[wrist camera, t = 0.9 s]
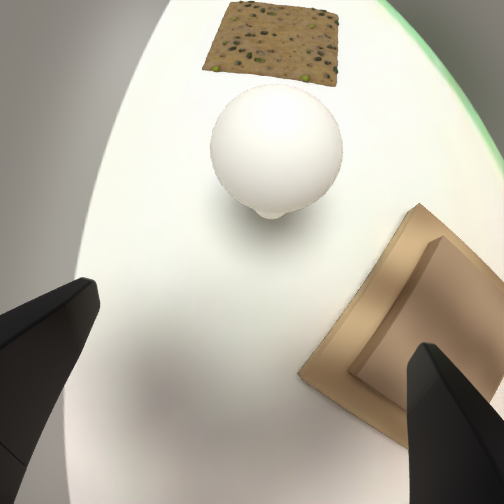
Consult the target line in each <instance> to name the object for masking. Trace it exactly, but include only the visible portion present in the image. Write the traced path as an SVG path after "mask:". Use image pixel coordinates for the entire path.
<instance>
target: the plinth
mask: <svg viewBox="0 0 504 504" xmlns="http://www.w3.org/2000/svg"><path fill="white" fill-rule="evenodd" d="M422 342H429V343H434V344H436V345H437V346H438V347H439V348H440V349H441V351H442V352H443V353H444V354H445V355H446V356H447V357H448V358H449V359H450V360H451V361H452V362H453V363H454V364H455V366H456V367H457V368H458V369H459V370H460V371H461V372H462V373H463V374H464V375H465V377H466V378H467V379H468V380H469V381H470V382H471V383H472V384H473V385H474V387H475V388H476V389H477V390H478V391H479V392H480V393H481V395H482V396H483V397H484V398H485V399H486V400H487V401H488V403H490V401H491V399H492V398H493V396H494V394H495V392H496V390H497V389H498V387H499V385H500V383H501V381H502V379H503V377H504V282H503V281H502V280H501V279H500V278H499V277H498V276H497V275H496V274H495V273H494V272H493V271H492V270H491V269H490V268H489V267H488V266H487V265H486V264H485V263H484V261H483V260H482V259H481V258H479V257H478V256H477V255H476V254H475V253H474V252H473V251H472V250H471V249H470V248H469V247H468V246H467V245H466V244H465V243H464V242H463V241H462V240H461V239H460V238H459V237H458V236H457V235H455V234H454V233H453V232H452V231H451V230H450V229H449V228H448V227H447V226H446V225H444V224H443V223H442V222H441V221H440V220H439V219H438V218H437V217H435V216H434V215H433V214H432V213H431V212H430V211H428V210H427V209H426V208H425V207H424V206H423V205H421V204H420V203H419V204H417V205H416V206H415V207H413V208H412V209H411V210H410V211H408V213H407V214H406V216H405V218H404V219H403V221H402V223H401V224H400V226H399V228H398V229H397V231H396V233H395V234H394V236H393V238H392V239H391V241H390V243H389V244H388V246H387V247H386V249H385V251H384V252H383V254H382V255H381V257H380V259H379V260H378V262H377V263H376V265H375V266H374V268H373V269H372V271H371V273H370V274H369V276H368V277H367V279H366V280H365V282H364V283H363V285H362V286H361V288H360V289H359V291H358V292H357V293H356V295H355V296H354V298H353V299H352V301H351V302H350V304H349V305H348V306H347V308H346V309H345V311H344V312H343V314H342V315H341V316H340V318H339V319H338V321H337V322H336V323H335V325H334V326H333V327H332V329H331V330H330V332H329V333H328V334H327V336H326V337H325V338H324V340H323V341H322V342H321V344H320V345H319V346H318V348H317V349H316V350H315V352H314V353H313V354H312V355H311V357H310V358H309V359H308V361H307V362H306V363H305V364H304V366H303V367H302V368H301V370H300V371H299V372H298V374H299V376H300V377H301V378H302V379H303V380H304V381H306V382H307V383H309V384H310V385H311V386H313V387H314V388H316V389H317V390H318V391H320V392H321V393H323V394H324V395H326V396H327V397H329V398H330V399H331V400H333V401H334V402H336V403H337V404H339V405H340V406H342V407H343V408H345V409H346V410H348V411H349V412H351V413H352V414H354V415H355V416H357V417H358V418H360V419H361V420H363V421H364V422H366V423H367V424H369V425H370V426H372V427H374V428H375V429H377V430H378V431H380V432H381V433H383V434H385V435H386V436H388V437H389V438H391V439H393V440H394V441H396V442H397V443H399V444H401V445H402V446H404V447H406V448H407V449H409V448H408V432H407V416H406V406H407V373H406V369H407V364H408V361H409V360H410V358H411V357H412V355H413V353H414V352H415V350H416V349H417V347H418V345H419V344H420V343H422Z"/></svg>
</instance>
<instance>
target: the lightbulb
mask: <svg viewBox="0 0 504 504" xmlns="http://www.w3.org/2000/svg"><path fill="white" fill-rule="evenodd" d="M210 155H211V161H212V164H213V167H214V171H215V174H216V176H217V178H218V179H219V181H220V183H221V185H222V186H223V187H224V188H225V189H226V190H227V191H228V193H229V194H230V195H231V196H233V197H234V198H235V199H236V200H238V201H239V202H240V203H242V204H244V205H246V206H248V207H250V208H252V209H254V210H255V211H256V212H257V213H258V214H259V215H260V216H262V217H264V218H267V219H276V218H279V217H281V216H283V215H284V214H285V213H289V212H293V211H296V210H300V209H302V208H304V207H306V206H308V205H310V204H312V203H314V202H315V201H317V200H318V199H319V198H320V197H322V196H323V195H324V194H325V193H326V192H327V191H328V189H329V188H330V187H331V186H332V184H333V183H334V181H335V179H336V177H337V174H338V172H339V170H340V167H341V162H342V155H343V146H342V138H341V134H340V130H339V126H338V124H337V122H336V120H335V118H334V116H333V115H332V113H331V112H330V111H329V110H328V108H327V107H326V106H325V105H324V104H323V103H322V102H321V101H320V100H319V99H317V98H316V97H315V96H313V95H312V94H310V93H308V92H306V91H304V90H302V89H299V88H297V87H293V86H289V85H281V84H271V85H263V86H258V87H255V88H252V89H250V90H247V91H245V92H243V93H242V94H240V95H238V96H237V97H236V98H234V99H233V100H232V101H231V102H230V103H229V104H228V105H226V106H225V108H224V109H223V111H222V112H221V113H220V115H219V117H218V119H217V121H216V123H215V126H214V128H213V131H212V136H211V143H210Z"/></svg>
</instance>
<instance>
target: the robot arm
mask: <svg viewBox="0 0 504 504" xmlns="http://www.w3.org/2000/svg"><path fill="white" fill-rule="evenodd" d="M99 309H100V299H99V294H98V289H97V284H96V282H95V281H94V280H92V279H89V278H85V277H81V278H79V279H77V280H74V281H72V282H70V283H68V284H66V285H63V286H61V287H59V288H57V289H55V290H52V291H50V292H48V293H46V294H44V295H41V296H39V297H37V298H35V299H33V300H31V301H29V302H27V303H24V304H22V305H20V306H18V307H16V308H14V309H12V310H10V311H8V312H6V313H4V314H1V315H0V504H14V501H15V498H16V495H17V493H18V490H19V487H20V485H21V482H22V479H23V477H24V474H25V472H26V469H27V466H28V464H29V461H30V459H31V456H32V454H33V452H34V449H35V447H36V445H37V442H38V440H39V438H40V436H41V433H42V431H43V429H44V427H45V424H46V422H47V420H48V418H49V416H50V414H51V412H52V409H53V408H54V405H55V403H56V401H57V399H58V397H59V395H60V393H61V391H62V389H63V387H64V385H65V383H66V381H67V379H68V377H69V375H70V373H71V372H72V370H73V368H74V366H75V364H76V362H77V360H78V358H79V356H80V354H81V352H82V350H83V348H84V345H85V343H86V340H87V338H88V336H89V333H90V331H91V328H92V326H93V324H94V321H95V319H96V317H97V315H98V312H99ZM406 373H407V406H406V416H407V432H408V448H409V479H410V503H409V504H504V420H503V419H502V418H501V417H500V415H499V414H498V413H497V412H496V411H495V410H494V408H493V407H492V406H491V405H490V404H489V403H488V401H487V400H486V399H485V398H484V397H483V396H482V395H481V393H480V392H479V391H478V390H477V389H476V388H475V387H474V385H473V384H472V383H471V382H470V381H469V380H468V379H467V378H466V377H465V375H464V374H463V373H462V372H461V371H460V370H459V369H458V368H457V367H456V366H455V364H454V363H453V362H452V361H451V360H450V359H449V358H448V357H447V356H446V355H445V354H444V353H443V352H442V351H441V349H440V348H439V347H438V346H437V345H436V344H434V343H429V342H422V343H420V344H419V345H418V347H417V349H416V350H415V352H414V353H413V355H412V357H411V358H410V360H409V361H408V364H407V369H406Z"/></svg>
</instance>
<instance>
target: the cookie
mask: <svg viewBox="0 0 504 504" xmlns="http://www.w3.org/2000/svg"><path fill="white" fill-rule="evenodd" d="M338 20H339V18H338V15H337V14H334V13H329V12H327V11H326V10H317V9H315V8H305V7H294V6H287V5H274V4H267V3H260V2H254V1H248V2H243V1H240V2H230V4H229V6H228V8H227V10H226V12H225V15H224V17H223V18H222V21H221V24H220V27H219V28H218V32H217V34H216V36H215V38H214V41H213V42H212V46H211V48H210V51H209V53H208V55H207V58H206V61H205V64H204V66H203V67H202V70H207V71H214V72H229V73H244V74H255V75H260V76H272V77H276V78H283V79H292V80H298V81H303V82H310V83H315V84H320V85H325V86H331V87H335V86H336V83H337V73H338V70H337V66H338V61H337V56H338V54H337V53H338V36H337V35H338V25H339V23H338Z"/></svg>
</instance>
